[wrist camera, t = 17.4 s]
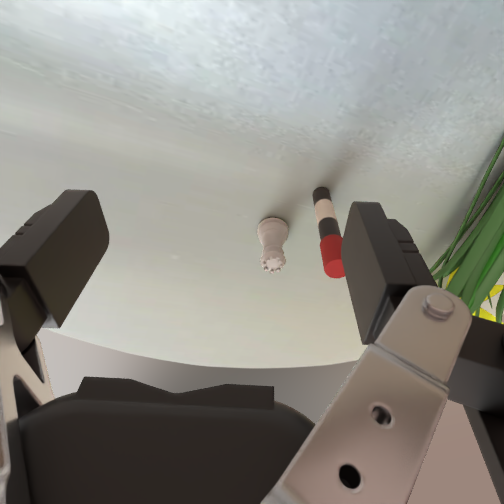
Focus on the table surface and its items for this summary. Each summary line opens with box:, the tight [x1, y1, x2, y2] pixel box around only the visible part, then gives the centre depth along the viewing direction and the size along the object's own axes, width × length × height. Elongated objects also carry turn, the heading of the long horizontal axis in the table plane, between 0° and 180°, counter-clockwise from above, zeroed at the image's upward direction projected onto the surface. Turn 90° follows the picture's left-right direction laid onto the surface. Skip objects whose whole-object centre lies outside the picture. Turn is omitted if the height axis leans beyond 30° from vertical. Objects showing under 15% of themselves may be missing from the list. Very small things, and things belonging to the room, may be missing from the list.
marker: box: [313, 187, 345, 278], centre depth 38 cm, size 3×3×14 cm
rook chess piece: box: [257, 218, 288, 274], centre depth 45 cm, size 4×4×8 cm
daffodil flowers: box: [429, 138, 504, 324], centre depth 42 cm, size 17×15×35 cm
